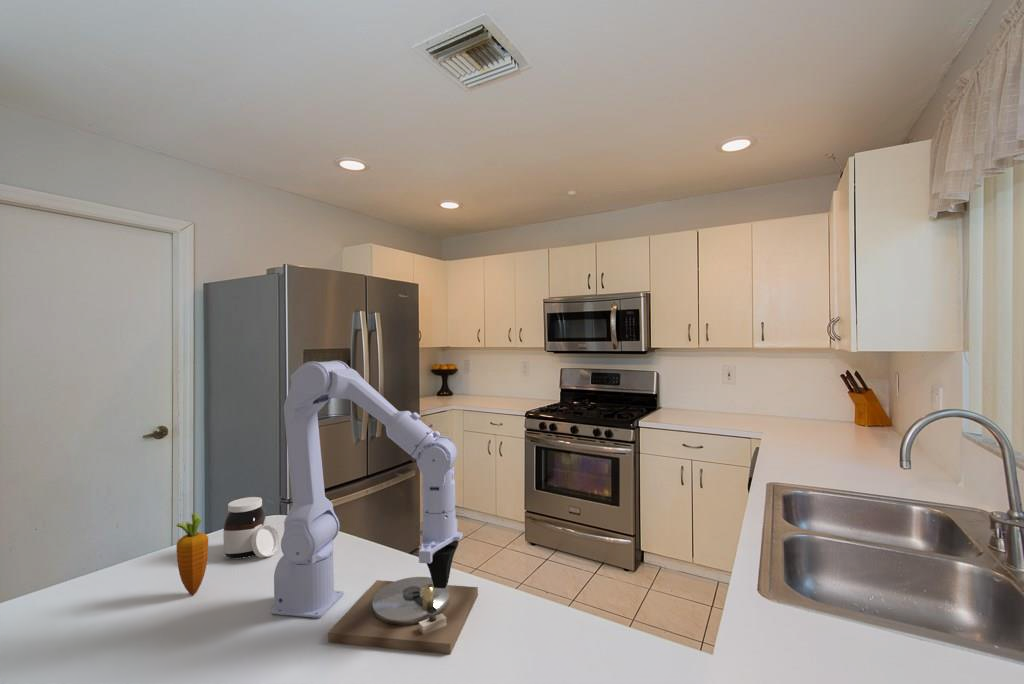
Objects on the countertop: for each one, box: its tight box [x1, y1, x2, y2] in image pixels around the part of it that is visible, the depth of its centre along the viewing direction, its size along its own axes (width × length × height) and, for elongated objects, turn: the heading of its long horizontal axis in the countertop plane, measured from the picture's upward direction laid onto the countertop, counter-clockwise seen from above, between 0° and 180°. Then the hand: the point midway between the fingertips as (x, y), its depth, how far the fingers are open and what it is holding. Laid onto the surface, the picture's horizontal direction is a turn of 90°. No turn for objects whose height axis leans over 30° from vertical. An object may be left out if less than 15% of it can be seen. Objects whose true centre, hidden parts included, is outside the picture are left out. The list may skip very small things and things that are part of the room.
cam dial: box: [373, 576, 449, 625], centre depth 79 cm, size 14×13×5 cm
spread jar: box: [222, 496, 280, 559], centre depth 105 cm, size 12×11×12 cm
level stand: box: [327, 579, 479, 655], centre depth 78 cm, size 20×16×3 cm
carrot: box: [176, 512, 209, 596], centre depth 87 cm, size 5×5×15 cm
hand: (440, 586), depth 80 cm, fingers closed
